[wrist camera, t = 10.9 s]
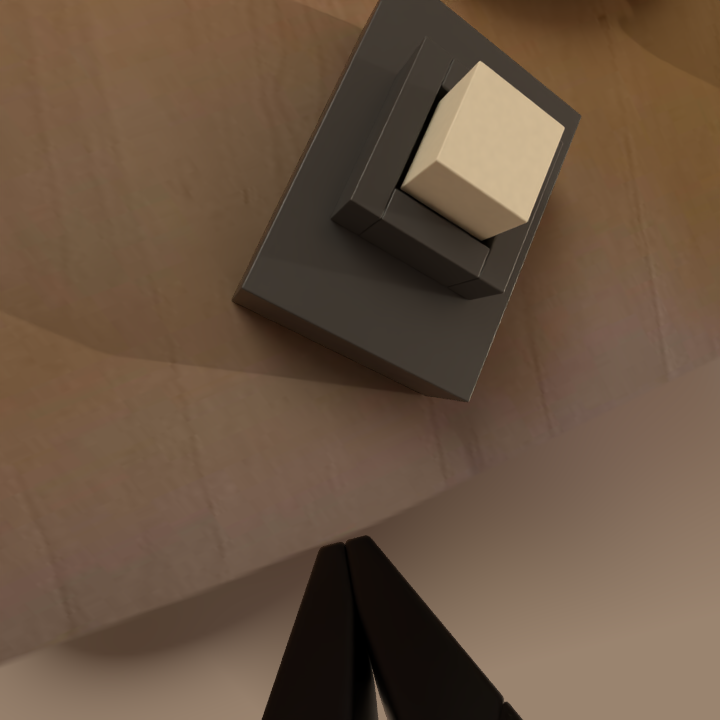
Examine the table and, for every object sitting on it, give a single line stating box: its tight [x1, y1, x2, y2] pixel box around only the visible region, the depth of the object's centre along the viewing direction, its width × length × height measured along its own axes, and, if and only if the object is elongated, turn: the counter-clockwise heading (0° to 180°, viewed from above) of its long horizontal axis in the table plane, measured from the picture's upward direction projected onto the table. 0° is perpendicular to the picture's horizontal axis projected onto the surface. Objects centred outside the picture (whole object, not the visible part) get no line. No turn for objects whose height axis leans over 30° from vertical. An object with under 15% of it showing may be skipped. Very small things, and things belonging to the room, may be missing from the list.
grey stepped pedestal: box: [232, 0, 581, 402], centre depth 20 cm, size 14×10×6 cm
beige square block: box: [401, 61, 565, 241], centre depth 16 cm, size 4×4×2 cm
